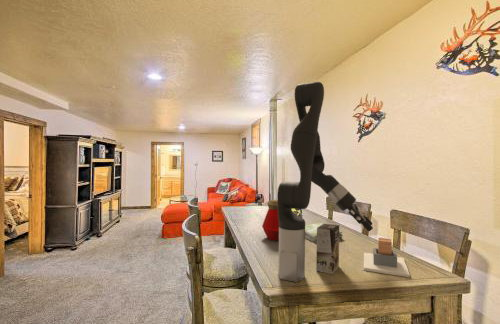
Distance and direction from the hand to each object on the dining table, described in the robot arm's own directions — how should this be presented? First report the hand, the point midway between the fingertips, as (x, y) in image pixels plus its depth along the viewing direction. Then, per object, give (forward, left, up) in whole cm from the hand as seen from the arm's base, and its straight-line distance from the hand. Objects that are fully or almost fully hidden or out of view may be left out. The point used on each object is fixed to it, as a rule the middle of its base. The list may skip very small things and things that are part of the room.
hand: (370, 227), depth 108 cm
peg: (0, -5, -13) cm, 14 cm away
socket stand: (0, -5, -14) cm, 15 cm away
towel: (+32, +26, -15) cm, 43 cm away
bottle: (+16, +45, -15) cm, 50 cm away
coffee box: (-13, +15, -15) cm, 24 cm away
